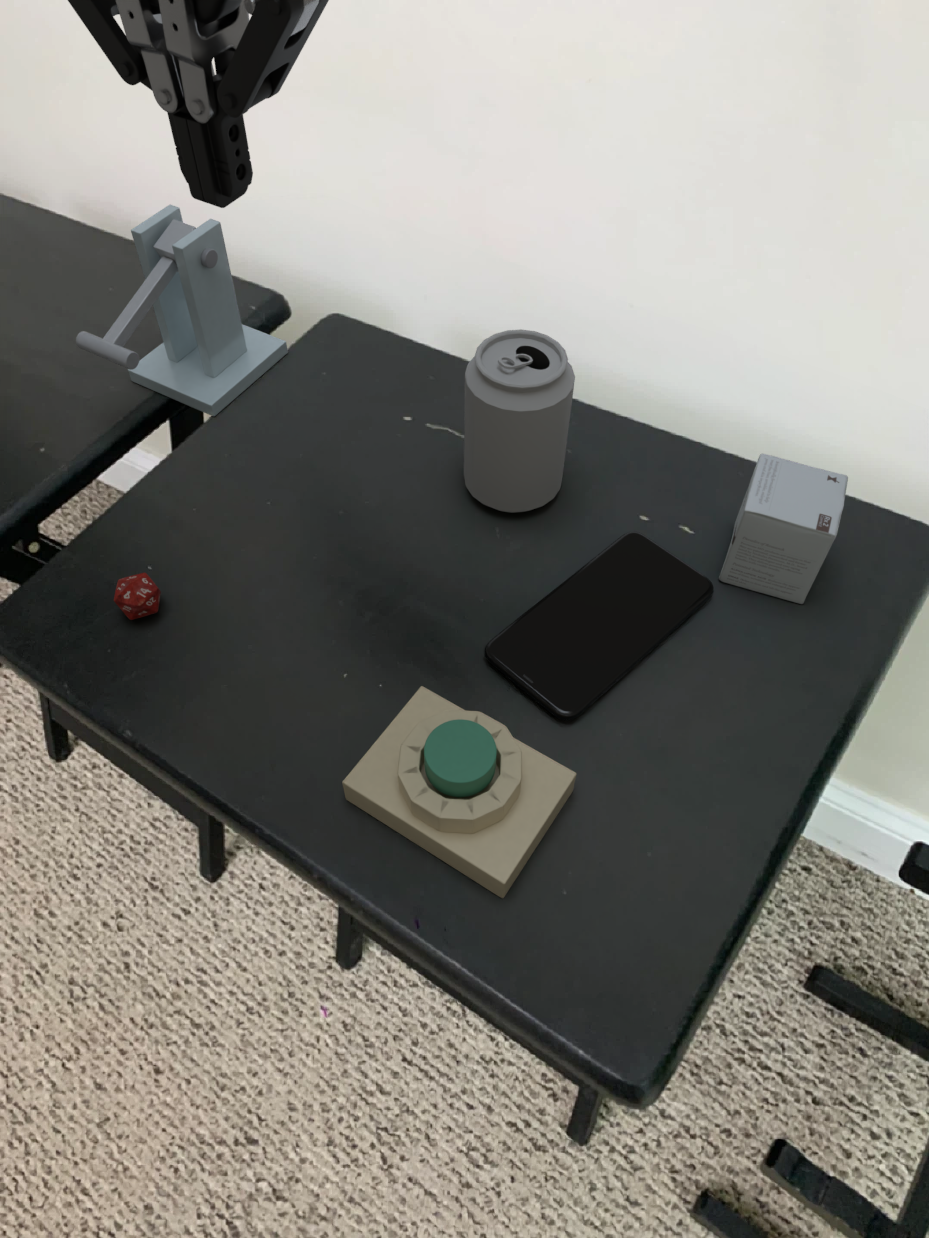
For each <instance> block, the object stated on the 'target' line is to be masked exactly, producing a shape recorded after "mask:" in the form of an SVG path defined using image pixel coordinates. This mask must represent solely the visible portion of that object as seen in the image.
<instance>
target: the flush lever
mask: <svg viewBox="0 0 929 1238" xmlns="http://www.w3.org/2000/svg"><path fill="white" fill-rule="evenodd" d="M196 228H197V227H196V226H193V225H191V224H188V223H185V222H184V221H183V222H180V221H177V220H174V219H173V220H172V222H171V223H170V224H169V226H168V227H167V228H166V230H165V231H164V232H163V234H162V235H161V237H160V238H159V239H158V241H157V242H156V243H155V245H154V246H153V247H154V249H155V250H156V252H157V253H158V255H159V256H160V258H161V259H160V260H159V262H158V263H157V265H156V266H155V267H154V269H153V270H152V271H151V273H150V274H149V276H148V277H147V278H146V280H145V279H144V281H143V283H142V284H141V285H140V286H139V287H138V289H137V290H136V292H135V293H134V295H133V296H132V297H131V299H130V300H129V302H128V303H127V304H126V306H125V307H124V308H123V310H122V311H121V313H120V314H119V315H118V317H117V318H116V319H115V321H114V322H113V324H112V325H111V326H110V328H109V329H108V331H107V332H106V333H105V335H104V337H100V336H98V335H97V334H96V335H95V334H93V333H91V332H89V331H86V330H82V331H79V333H77V335H76V337H75V344H76V346H77V348H79V349H81V350H83V351H86V352H88V353H90V354H93V355H95V356H97V357H99V358H102V359H104V360H107V361H109V362H112V363H114V364H115V365H118V366H120V367H123V368H126V369H127V370H128V369H130V370H132V369H135V368H136V367H137V365H138V363H139V360H140V355H139V354H138V353H137V352H136V351H133V350H132V349H129V348H127V347H124V346H125V345H126V343H127V342H128V341H129V339H130V338H131V336H132V335H133V334H134V332H135V331H136V329H137V328H138V327H139V325H140V324H141V322H143V319H144V318H145V317H146V315H147V314H148V313H149V311H150V310H151V308H153V304H154V303H155V301H156V300H157V299H158V297H159V296H160V295H161V293H162V292H163V290H164V289H165V288H166V286H167V285H168V283H169V282H170V281H171V279H172V278H173V276H174V275H175V274H176V272H179V271H178V267H177V264H176V260H175V256H174V252H173V248H172V245H173V244H174V243H176V242H177V241H179V240H180V239H182V238H183V237H184V236H186V235H187V234H189V233H190V232H192V231H193V230H195V229H196Z"/></svg>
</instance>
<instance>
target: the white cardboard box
mask: <svg viewBox="0 0 929 1238" xmlns="http://www.w3.org/2000/svg"><path fill="white" fill-rule="evenodd" d="M756 461H757V462H756V463H755V466H754V470H753V472H752V475H751V478H750V481H749V483H748V486H747V489H746V492H745V495H744V496H743V500H742V503H741V505H740V508H739V510H738V513H737V516H736V519H735V522H734V526H733V530H732V536H731V541H730V543H729V546H728V549H727V551H726V552H727V553H726V556H725V559H724V562H723V565H722V568H721V571H720V573H719V576H718V580H719V581H720V582H722V583H724V584H728V585H732V586H735V587H739V588H742V589H745V590H749V591H752V592H757V593H760V594H763V595H767V596H771V597H774V598H778V599H781V600H784V601H788V602H792V603H795V604H799V605H803V604H804V603H805V601H806V599H807V596H808V595H809V592H810V590H811V588H812V586H813V584H814V583H815V580H816V578H817V576H818V574H819V572H820V570H821V568H822V566H823V564H824V562H825V559H826V558H827V556H828V554H829V552H830V550H831V548H832V546H833V544H834V541H835V540H836V538H837V535H838V532H839V527H840V522H841V519H842V513H843V510H844V507H845V499H846V494H847V487H848V481H849V477H848V475H847V474H843V473H840V472H839V473H838V472H834V471H831V470H826V469H823V468H820V467H819V468H818V467H815V466H812V465H808V464H803V463H800V462H796V461H793V460H789V459H786V458H782V457H779V456H775V455H772V454H771V455H770V454H767V453H759V456H758V458H757V460H756Z"/></svg>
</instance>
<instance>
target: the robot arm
mask: <svg viewBox="0 0 929 1238" xmlns="http://www.w3.org/2000/svg"><path fill="white" fill-rule="evenodd" d="M329 1H330V0H67V2H68V4H70V6H71V7H72V9H73V10H74V12H75V13H76V15H77V16H78V17H79V19H80V21H81V22H82V23H83V25H84V26H85V28H86V29H87V31H88V32H89V34H90V36H92V37H93V39H94V40H95V42H96V44H97V45H98V46H99V48H100V50H101V51H102V52H103V53H104V55H105V56H106V58H107V59H108V61H109V62H110V64H111V65H112V67H113V68H114V70H115V72H117V74H118V75H119V77H120V78H121V79H122V81H124V82H125V83H126V84H127V85H129V86H136V85H138V84H140V83H141V84H142V85H144V86H145V87H147V89H149V90H150V91H152V94H153V97H154V99H155V101H156V103H157V105H158V106H159V107H160V108H161V109H162V110H163V111H164V112H166V113H167V117H168V121H169V125H170V130H171V134H172V139H173V143H174V146H175V151H176V152H175V153H176V155H177V156H178V157H177V160H178V165H179V169H180V172H181V174H182V176H183V178H184V180H185V182H186V183H187V184H188V189H189V193H190V196H191V197H192V198H193V199H194V200H197V201H200V202H202V203H206V204H209V205H212V206H215V207H217V208H221V209H225V208H226V207H228V206H230V205H231V204H232V203H234V202H235V201H237V200H238V199H240V198H241V197H242V196H244V195H245V194H246V193H247V191H248V188H249V186H250V185H251V184H252V182H253V174H254V171H253V166H252V161H251V155H250V151H249V150H250V148H249V142H248V137H247V136H248V135H247V131H246V125H245V120H244V119H245V118H244V114H246V113H247V112H248V111H249V110H250V109H251V108H253V107H255V106H256V105H258V104H259V103H262V102H263V101H265V100H267V99H270V98H272V97H274V96H275V95H277V94H278V93H279V92H280V91H281V89H282V87H283V85H284V83H285V81H286V80H287V78H288V76H289V74H290V72H291V71H292V69H293V67H294V65H295V63H296V62H297V60H298V58H299V56H300V54H301V53H302V50H303V49H304V47H305V45H306V44H307V42H308V39H309V38H310V36H311V34H312V32H313V30H314V29H315V27H316V25H317V22H318V21H319V20H320V18H321V15H322V14H323V12H324V11H325V9H326V6H327V5H328V2H329ZM118 15H119V18H120V20H121V25H122V26H123V27H121V26H120V25H119V23H118V21H117V20H116V19H115V16H118ZM250 15H251V16H250ZM122 28H123V29H122ZM123 30H124V31H123ZM213 60H214V66H213ZM214 67H215V70H214Z"/></svg>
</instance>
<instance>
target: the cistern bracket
mask: <svg viewBox="0 0 929 1238" xmlns="http://www.w3.org/2000/svg"><path fill="white" fill-rule="evenodd" d="M173 219H174V220H177V221H180V222H183V223H184V220H183V217H182V212H181V208H180V207H179V206H177V205H173V204H171V203H170V204H168V205H166V206H165V207H164V208H162V209H160V210H159V211H158V212H156V213H155V214H152V215H151V216H150V217H148V218H147V219H145V220H144V221H142V222H141V223H139V224H138V225H136V226H135V227H133V228H132V229H130V233H131V236H132V239H133V243H134V246H135V250H136V254H137V257H138V260H139V264H140V267H141V271H142V274H143V277H144V281H145V280H146V278H147V277H148V276H149V274H150V273H151V271H152V270H153V269H154V267H155V266H156V265H157V263H158V262H159V260H160V259H161V258H160V256H159V255H158V253H157V252H156V250H155V249H154V247H153V246H154V245H155V243H156V242H157V241H158V239H159V238H160V237H161V235H162V234H163V232H164V231H165V230H166V228H167V227H168V226H169V224H170V223H171V222H172V220H173ZM225 242H226V241H225V238H224V233H223V229H222V222H221V221H219V220H216V219H214V218H209V219H208V220H206V221H205V222H203V223H202V224H200V225H199V226H197V227H196V229H195V230H193V231H192V232H190V233H189V234H187V235H186V236H184V237H183V238H182V239H180V240H179V241H177V242H176V243H174V244H173V245H172V248H173V252H174V256H175V260H176V264H177V267H178V271H179V272H176V274H175V275H174V276H173V278H172V279H171V281H170V282H169V283H168V285H167V286H166V288H165V289H164V290H163V292H162V293H161V295H160V296H159V297H158V299H157V300H156V301H155V303H154V304H153V306H152V308H153V311H154V315H155V318H156V322H157V325H158V329H159V332H160V335H161V339H162V342H161V343H160V344H159V345H158V346H156V347H154V349H152V350H151V351H149V352H148V354H146V355H145V356H143V357H142V358H141V359H139V363H138V365H137V367H136V368H135V369H132V370H130V369H128V368H127V372H128V375H129V379H130V382H132V383H135V384H137V385H139V386H142V387H144V388H147V389H149V390H151V391H153V392H156V393H159V394H160V395H163V396H165V397H167V398H170V399H172V400H174V401H177V402H179V403H181V404H182V405H183V404H184V405H186V406H188V407H190V408H193V409H195V410H197V411H199V412H201V413H204V414H207V415H209V416H211V417H216V416H217V415H218V414H219V413H220V412H221V411H223V410H224V409H226V407H227V406H228V405H230V404H231V403H232V402H234V401H235V399H236V398H238V397H239V396H240V395H241V394H242V393H243V392H245V391H246V390H247V389H248V388H249V387H250V386H251V385H253V384H254V383H255V382H257V380H258V379H260V378H261V377H262V376H263V375H264V374H265V373H267V372H268V371H269V370H270V369H271V368H272V367H274V365H276V364H277V363H278V362H279V361H280V360H281V359H283V358H284V357H285V356H286V355H287V354H288V353H289V349H288V345H287V341H286V340H285V339H281V338H279V337H276V336H273V335H271V334H269V333H266V332H263V331H261V330H258V329H256V328H253V327H251V326H248V325H246V324H243V322H242V318H241V312H240V310H239V304H238V299H237V296H236V290H235V285H234V280H233V275H232V272H231V266H230V262H229V257H228V251H227V247H226V243H225Z"/></svg>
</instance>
